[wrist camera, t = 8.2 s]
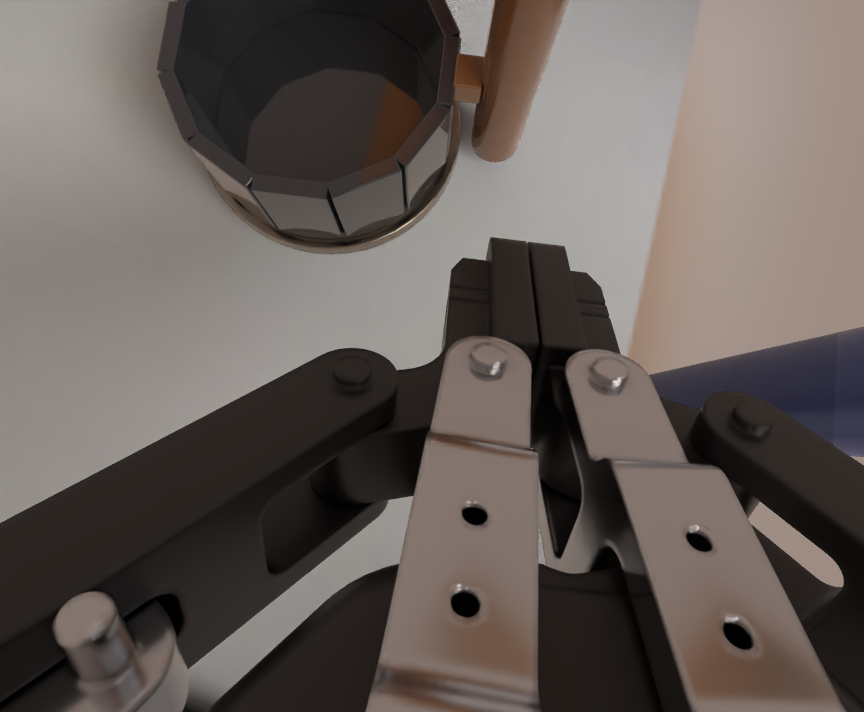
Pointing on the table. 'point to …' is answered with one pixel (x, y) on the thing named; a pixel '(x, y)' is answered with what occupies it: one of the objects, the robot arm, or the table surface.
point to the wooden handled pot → (344, 99)
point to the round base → (368, 238)
